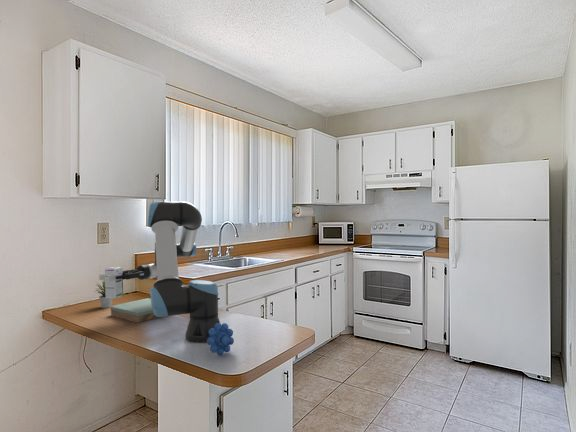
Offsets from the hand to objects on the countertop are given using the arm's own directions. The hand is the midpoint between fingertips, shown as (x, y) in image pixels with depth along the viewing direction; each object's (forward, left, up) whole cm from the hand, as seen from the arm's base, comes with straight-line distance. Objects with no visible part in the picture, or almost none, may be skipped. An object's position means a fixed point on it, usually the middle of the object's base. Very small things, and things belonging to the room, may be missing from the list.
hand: (104, 278), depth 173 cm
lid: (+7, -20, -19) cm, 28 cm away
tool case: (+7, -20, -22) cm, 30 cm away
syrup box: (+2, -5, -10) cm, 11 cm away
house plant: (+37, -6, -22) cm, 44 cm away
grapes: (-72, -28, -22) cm, 80 cm away
